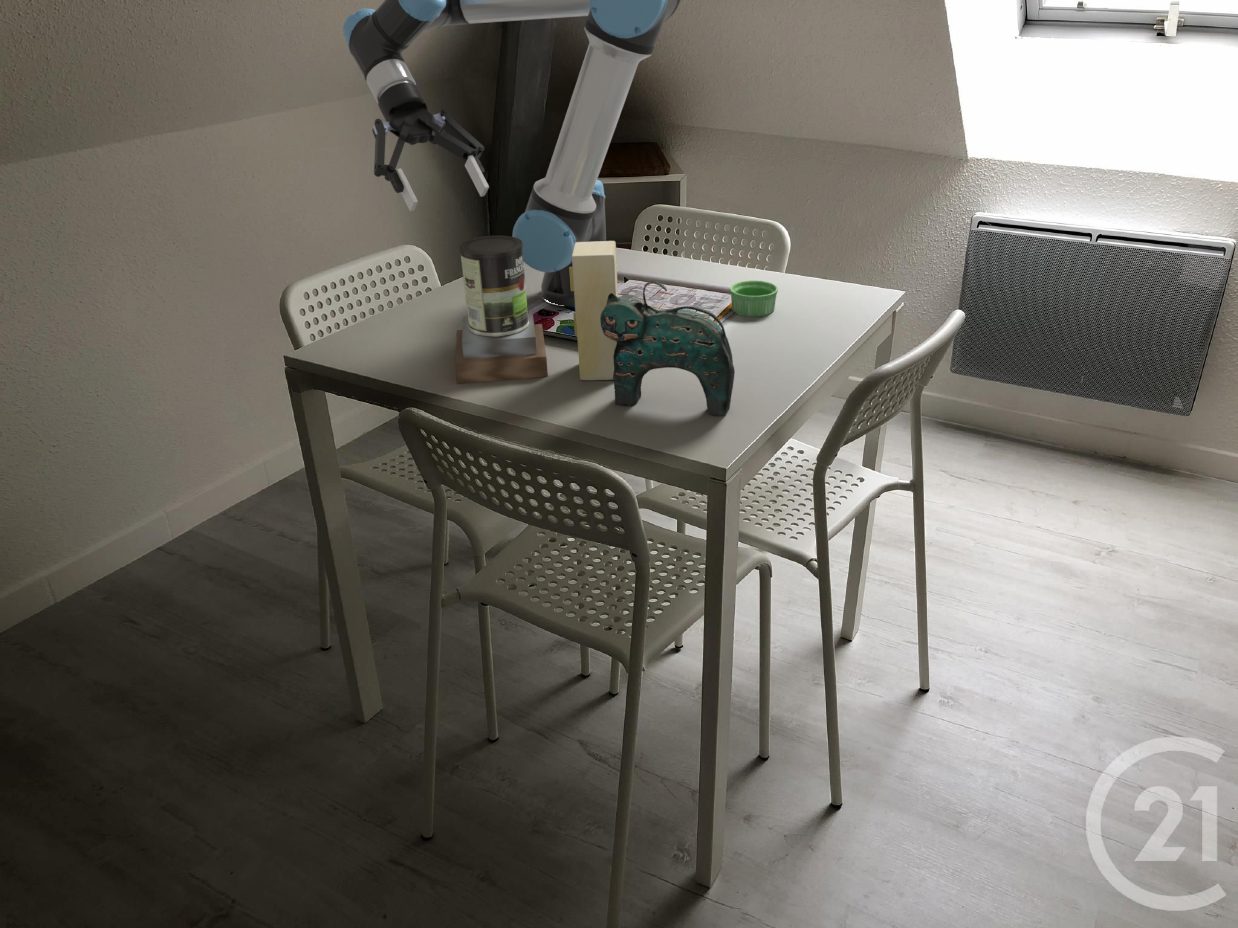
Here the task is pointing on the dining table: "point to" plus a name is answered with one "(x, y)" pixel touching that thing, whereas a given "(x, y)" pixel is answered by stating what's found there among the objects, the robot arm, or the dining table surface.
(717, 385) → the ceramic cat
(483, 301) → the coffee can
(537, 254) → the robot arm
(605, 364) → the cream tall block
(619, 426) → the dining table surface
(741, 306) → the ramekin
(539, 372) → the tower base
